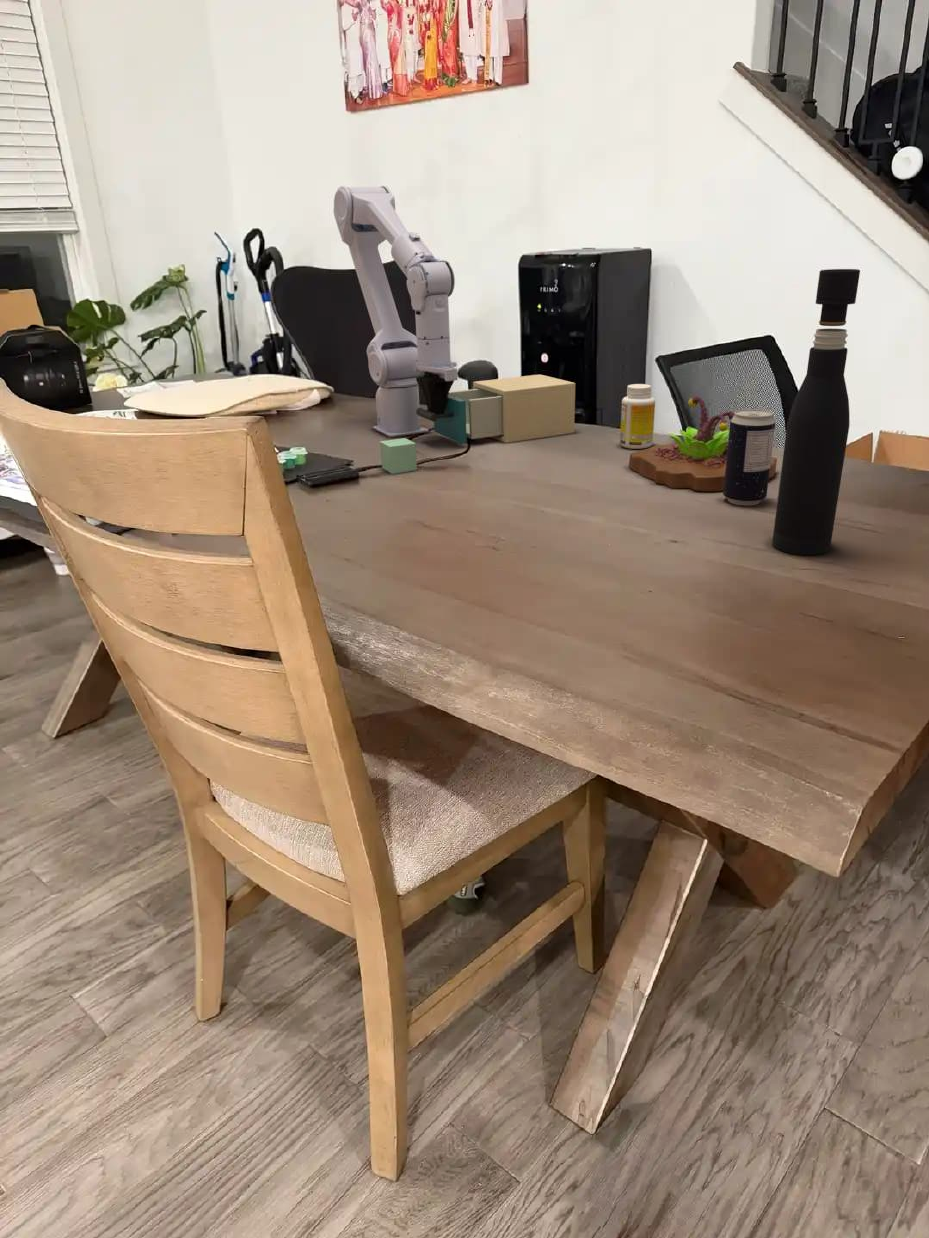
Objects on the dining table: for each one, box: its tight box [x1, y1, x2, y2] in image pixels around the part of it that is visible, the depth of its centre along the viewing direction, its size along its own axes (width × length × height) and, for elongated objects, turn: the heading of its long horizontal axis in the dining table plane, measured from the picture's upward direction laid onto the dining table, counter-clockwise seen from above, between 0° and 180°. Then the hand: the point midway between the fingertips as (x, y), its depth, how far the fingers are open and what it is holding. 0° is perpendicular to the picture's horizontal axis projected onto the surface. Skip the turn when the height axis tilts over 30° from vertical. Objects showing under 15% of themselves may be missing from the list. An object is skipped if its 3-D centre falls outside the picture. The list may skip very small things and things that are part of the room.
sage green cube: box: [379, 437, 418, 475], centre depth 136 cm, size 4×4×4 cm
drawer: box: [416, 388, 503, 444], centre depth 153 cm, size 18×11×7 cm, turn 116°
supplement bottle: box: [619, 383, 656, 450], centre depth 144 cm, size 6×6×10 cm
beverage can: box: [722, 408, 776, 506], centre depth 113 cm, size 6×6×12 cm
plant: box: [628, 396, 778, 492], centre depth 128 cm, size 20×20×11 cm
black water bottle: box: [771, 268, 861, 556], centre depth 93 cm, size 6×6×30 cm
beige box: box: [472, 374, 576, 444], centre depth 158 cm, size 15×13×9 cm
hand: (436, 417), depth 151 cm, fingers closed, pressing on drawer
